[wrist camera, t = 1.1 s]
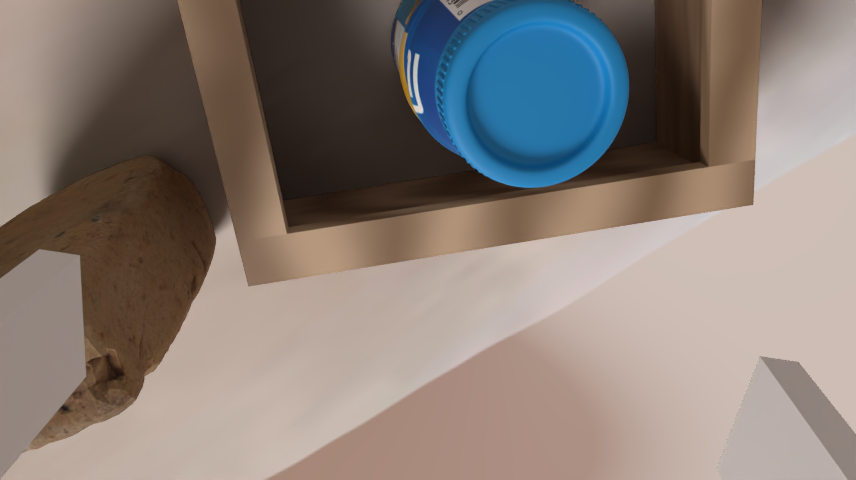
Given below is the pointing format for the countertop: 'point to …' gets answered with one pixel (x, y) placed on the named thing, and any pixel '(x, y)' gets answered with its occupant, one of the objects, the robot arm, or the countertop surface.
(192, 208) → the block
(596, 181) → the walnut box
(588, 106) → the beverage bottle
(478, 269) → the countertop surface
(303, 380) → the countertop surface
